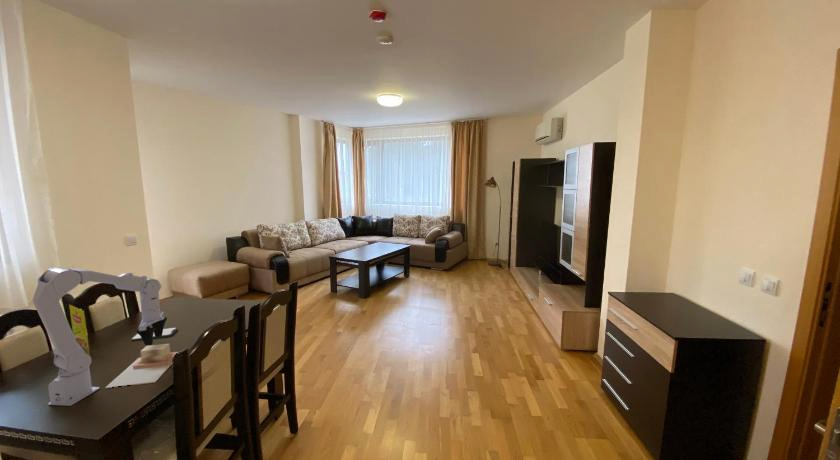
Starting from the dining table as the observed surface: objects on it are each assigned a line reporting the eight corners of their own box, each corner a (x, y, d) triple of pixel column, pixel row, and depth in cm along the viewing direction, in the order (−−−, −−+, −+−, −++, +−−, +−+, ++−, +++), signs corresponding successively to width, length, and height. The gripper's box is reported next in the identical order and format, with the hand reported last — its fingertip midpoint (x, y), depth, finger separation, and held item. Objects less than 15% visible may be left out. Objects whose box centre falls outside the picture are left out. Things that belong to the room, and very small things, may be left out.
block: (141, 365, 130) (140, 351, 129) (147, 359, 134) (146, 345, 134) (165, 362, 132) (164, 348, 131) (170, 357, 137) (169, 343, 136)
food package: (73, 348, 143) (67, 304, 141) (76, 347, 144) (71, 303, 142) (88, 357, 136) (82, 311, 134) (91, 356, 137) (85, 310, 135)
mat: (155, 382, 120) (155, 381, 120) (105, 388, 116) (105, 387, 116) (180, 354, 140) (180, 353, 140) (139, 358, 136) (138, 357, 136)
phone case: (130, 342, 151) (171, 337, 155) (129, 339, 150) (170, 334, 155) (139, 334, 159) (178, 330, 164) (139, 331, 159) (178, 326, 164)
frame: (178, 354, 139) (178, 351, 139) (168, 364, 131) (168, 362, 131) (145, 357, 136) (144, 355, 136) (133, 368, 128) (132, 365, 128)
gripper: (152, 313, 124) (156, 347, 126) (171, 300, 138) (173, 331, 140) (130, 315, 123) (134, 349, 124) (151, 302, 136) (154, 333, 138)
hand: (153, 340), depth 132 cm, fingers open, 7 cm apart
